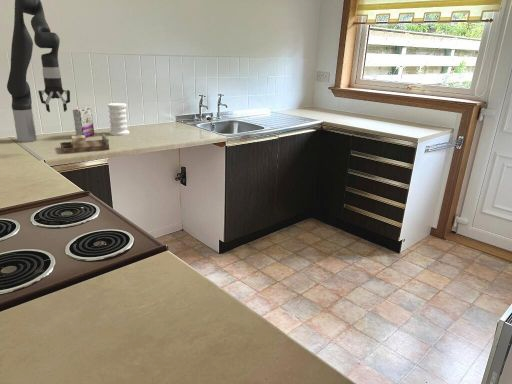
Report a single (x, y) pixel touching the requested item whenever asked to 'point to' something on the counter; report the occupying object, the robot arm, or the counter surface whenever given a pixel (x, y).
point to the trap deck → (86, 146)
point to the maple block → (79, 140)
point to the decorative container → (118, 119)
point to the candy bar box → (83, 122)
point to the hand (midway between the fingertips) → (57, 111)
